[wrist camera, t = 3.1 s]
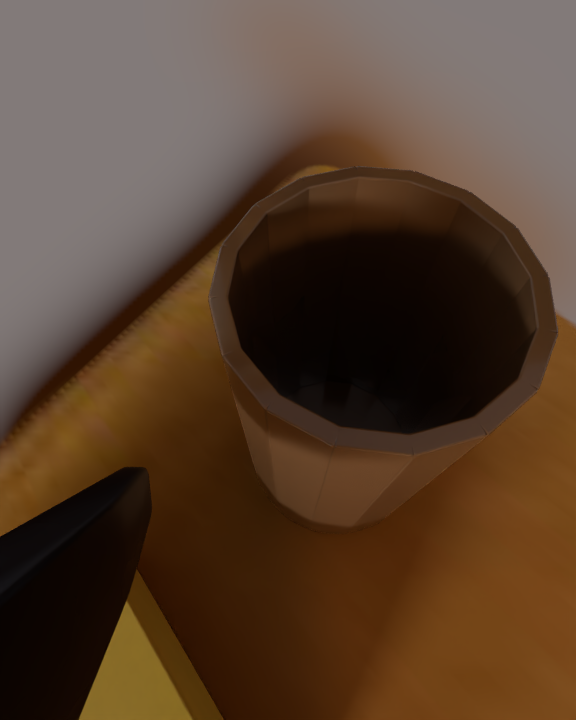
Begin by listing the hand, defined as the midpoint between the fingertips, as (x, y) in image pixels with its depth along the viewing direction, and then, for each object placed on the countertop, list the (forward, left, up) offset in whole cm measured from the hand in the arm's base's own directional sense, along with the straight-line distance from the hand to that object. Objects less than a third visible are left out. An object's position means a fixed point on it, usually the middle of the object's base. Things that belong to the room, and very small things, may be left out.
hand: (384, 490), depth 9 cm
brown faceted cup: (+3, -2, -11) cm, 11 cm away
